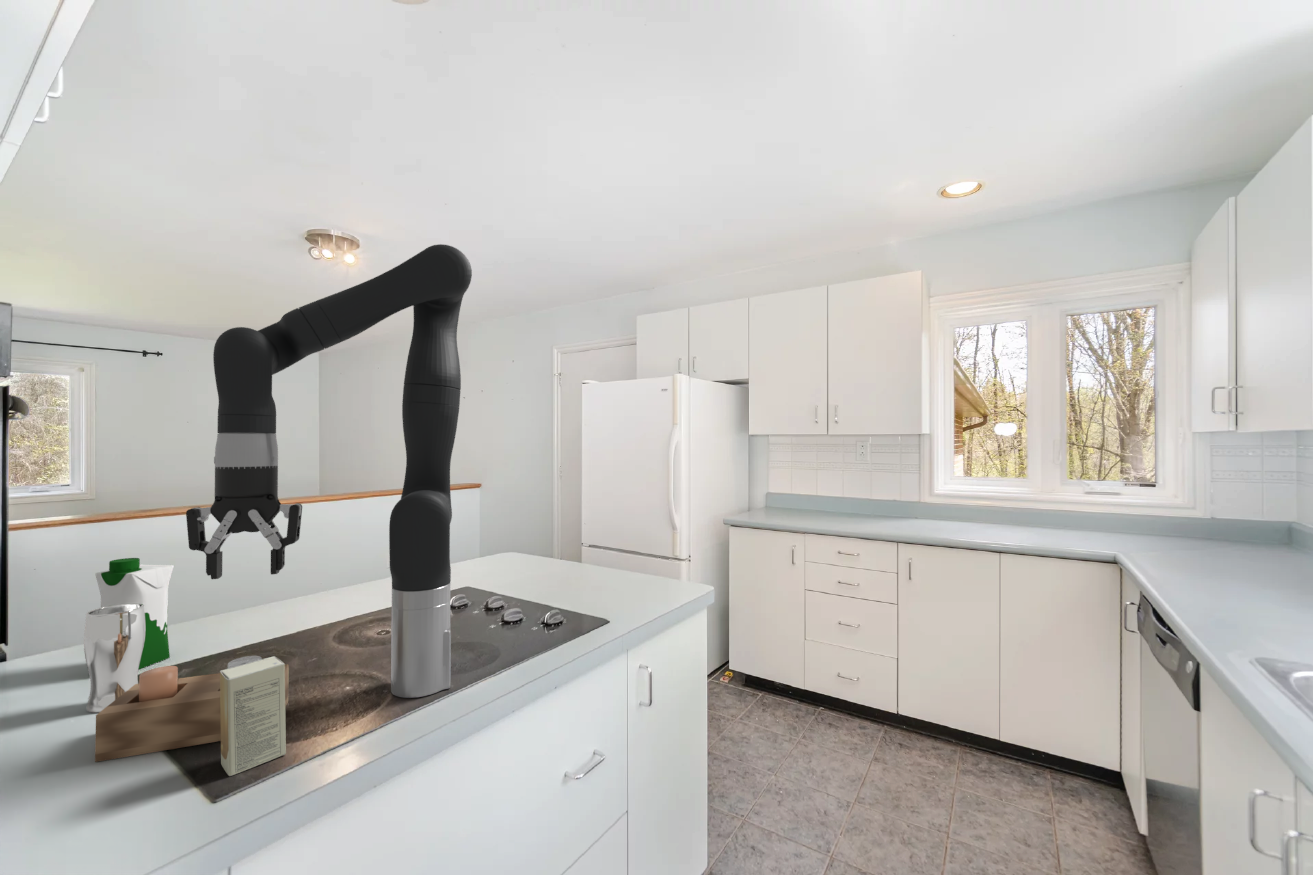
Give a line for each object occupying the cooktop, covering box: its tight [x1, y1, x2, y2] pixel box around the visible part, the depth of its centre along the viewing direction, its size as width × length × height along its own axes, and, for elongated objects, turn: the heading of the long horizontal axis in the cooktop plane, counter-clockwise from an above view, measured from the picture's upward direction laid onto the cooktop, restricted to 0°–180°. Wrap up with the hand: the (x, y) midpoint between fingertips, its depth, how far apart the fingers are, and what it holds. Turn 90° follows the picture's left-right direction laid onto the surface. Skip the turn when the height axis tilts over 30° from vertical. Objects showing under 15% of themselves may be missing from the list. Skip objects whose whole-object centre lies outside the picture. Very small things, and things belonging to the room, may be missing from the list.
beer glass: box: [83, 603, 146, 714], centre depth 86 cm, size 7×7×15 cm
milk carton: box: [95, 557, 175, 671], centre depth 102 cm, size 9×9×20 cm
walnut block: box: [94, 664, 290, 763], centre depth 78 cm, size 19×10×6 cm, turn 112°
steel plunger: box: [227, 655, 262, 669], centre depth 80 cm, size 4×4×5 cm
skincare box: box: [219, 655, 287, 777], centre depth 70 cm, size 6×4×12 cm
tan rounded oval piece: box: [138, 665, 179, 702], centre depth 76 cm, size 4×4×5 cm
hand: (246, 575), depth 80 cm, fingers open, 6 cm apart
